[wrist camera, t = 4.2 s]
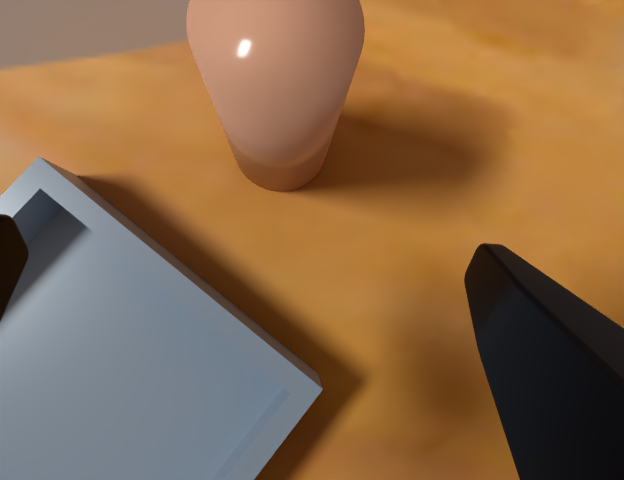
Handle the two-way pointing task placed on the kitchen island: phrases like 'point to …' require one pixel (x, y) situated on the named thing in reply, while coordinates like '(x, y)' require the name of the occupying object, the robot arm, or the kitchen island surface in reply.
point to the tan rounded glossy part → (277, 79)
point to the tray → (130, 354)
